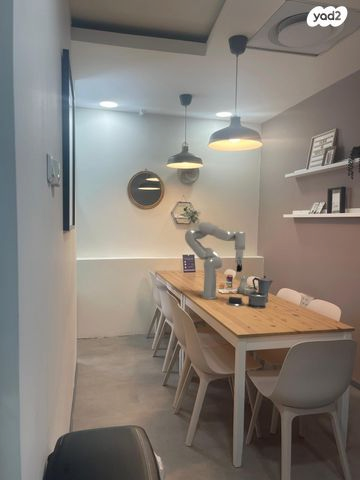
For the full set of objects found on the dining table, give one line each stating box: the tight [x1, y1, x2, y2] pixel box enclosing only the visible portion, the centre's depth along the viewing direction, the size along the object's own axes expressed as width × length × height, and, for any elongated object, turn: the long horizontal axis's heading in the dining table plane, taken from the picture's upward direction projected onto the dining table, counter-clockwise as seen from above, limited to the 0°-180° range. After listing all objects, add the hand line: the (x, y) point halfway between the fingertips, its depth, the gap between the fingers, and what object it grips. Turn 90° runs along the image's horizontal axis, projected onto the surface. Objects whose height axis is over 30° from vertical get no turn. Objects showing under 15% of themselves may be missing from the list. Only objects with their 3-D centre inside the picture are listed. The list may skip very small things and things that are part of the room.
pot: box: [247, 291, 267, 309], centre depth 249 cm, size 13×13×9 cm
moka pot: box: [252, 275, 274, 304], centre depth 266 cm, size 10×15×20 cm, turn 78°
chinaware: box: [236, 274, 259, 297], centre depth 295 cm, size 28×17×17 cm, turn 162°
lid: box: [226, 296, 245, 307], centre depth 253 cm, size 13×13×5 cm
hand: (239, 271), depth 256 cm, fingers open, 9 cm apart
